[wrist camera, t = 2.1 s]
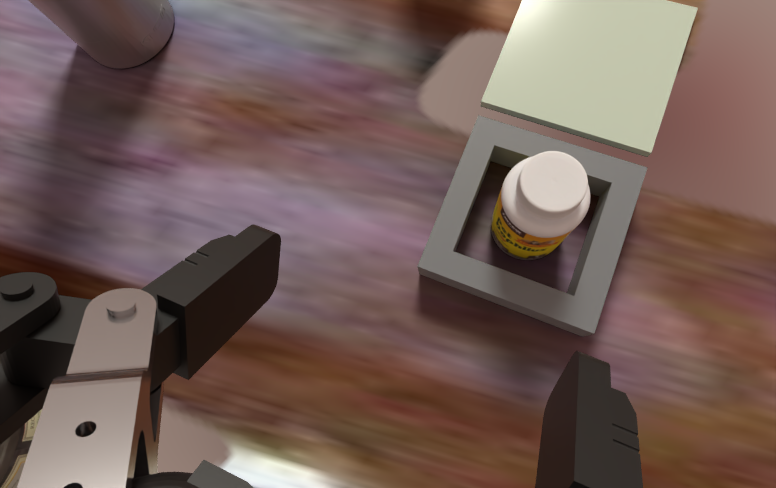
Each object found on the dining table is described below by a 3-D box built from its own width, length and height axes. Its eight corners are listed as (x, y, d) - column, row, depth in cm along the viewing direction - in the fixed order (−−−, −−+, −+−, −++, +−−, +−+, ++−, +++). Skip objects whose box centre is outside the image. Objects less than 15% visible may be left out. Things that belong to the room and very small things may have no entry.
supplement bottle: (476, 238, 39) (488, 194, 29) (512, 183, 40) (535, 121, 30) (539, 276, 38) (573, 242, 28) (575, 217, 38) (620, 165, 29)
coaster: (480, 106, 42) (481, 101, 41) (533, -25, 44) (535, -32, 44) (647, 157, 39) (651, 152, 38) (692, 14, 42) (697, 8, 41)
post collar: (419, 274, 39) (417, 266, 36) (476, 133, 41) (478, 115, 38) (582, 336, 36) (594, 333, 33) (632, 182, 39) (647, 167, 36)
